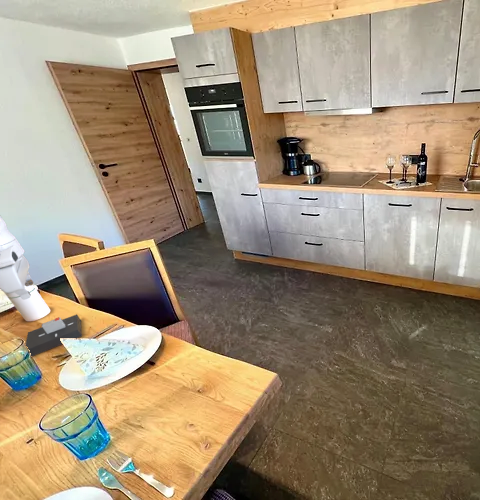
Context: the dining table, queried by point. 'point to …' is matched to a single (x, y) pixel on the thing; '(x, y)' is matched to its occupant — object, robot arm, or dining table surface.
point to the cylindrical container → (30, 304)
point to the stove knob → (53, 325)
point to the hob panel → (53, 336)
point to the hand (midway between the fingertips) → (28, 291)
